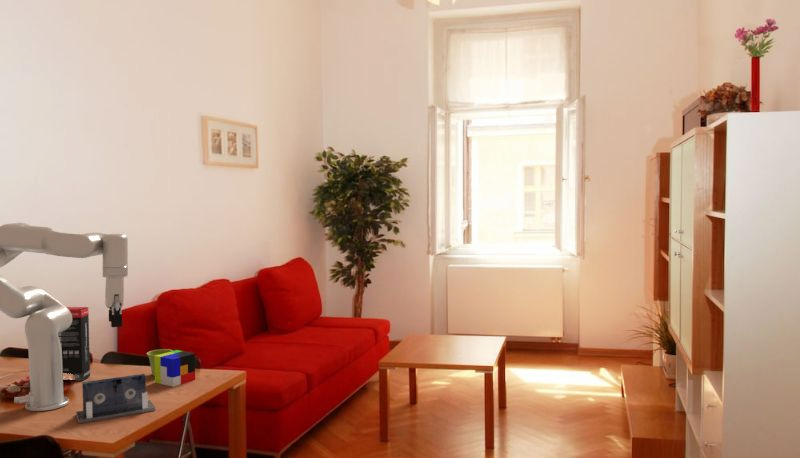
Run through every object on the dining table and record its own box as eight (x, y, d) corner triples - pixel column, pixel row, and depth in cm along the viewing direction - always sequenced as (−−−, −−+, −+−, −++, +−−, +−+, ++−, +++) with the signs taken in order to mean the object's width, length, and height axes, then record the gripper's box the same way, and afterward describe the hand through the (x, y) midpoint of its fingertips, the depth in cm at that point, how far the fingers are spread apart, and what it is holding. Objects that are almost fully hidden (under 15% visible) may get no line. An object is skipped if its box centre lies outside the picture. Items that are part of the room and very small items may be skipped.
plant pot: (141, 376, 248) (141, 353, 248) (159, 370, 257) (159, 348, 256) (161, 378, 245) (160, 355, 244) (178, 372, 253) (178, 350, 253)
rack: (79, 423, 197) (78, 404, 197) (75, 415, 205) (75, 396, 205) (155, 410, 209) (154, 392, 209) (149, 402, 217) (149, 385, 216)
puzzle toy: (173, 386, 235) (172, 359, 234) (155, 382, 240) (154, 355, 240) (195, 380, 243) (194, 353, 243) (177, 376, 249) (176, 350, 248)
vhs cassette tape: (145, 403, 213) (144, 373, 212) (146, 405, 210) (146, 375, 210) (82, 413, 204) (81, 381, 203) (83, 416, 201) (82, 384, 201)
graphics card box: (92, 376, 248) (89, 305, 247) (83, 381, 241) (81, 308, 240) (46, 377, 248) (43, 305, 246) (36, 382, 241) (33, 309, 239)
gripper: (100, 269, 219) (101, 320, 220) (104, 275, 204) (104, 330, 205) (125, 268, 223) (125, 318, 224) (130, 274, 207) (130, 328, 208)
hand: (115, 323), depth 214 cm, fingers open, 9 cm apart
